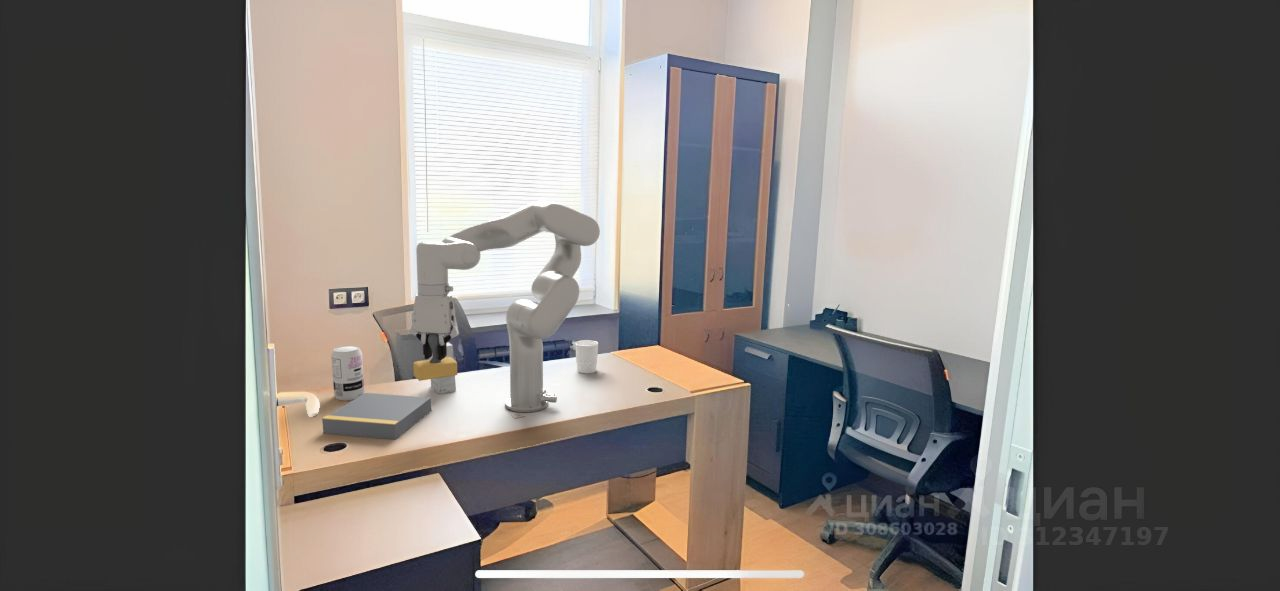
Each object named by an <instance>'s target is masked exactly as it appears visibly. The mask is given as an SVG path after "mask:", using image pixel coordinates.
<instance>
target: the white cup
mask: <svg viewBox="0 0 1280 591" xmlns="http://www.w3.org/2000/svg"><path fill="white" fill-rule="evenodd" d="M598 353H599V342H598V341H596V340H590V339H584V340H578V341H576V342H575V363H576V371H577V372H578V373H581V374H594V373H595V372H597V364H598Z"/></svg>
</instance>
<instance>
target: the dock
mask: <svg viewBox="0 0 1280 591" xmlns="http://www.w3.org/2000/svg"><path fill="white" fill-rule="evenodd" d="M430 411H431V412H432V411H433V410H432V398H431V397H426V396H425V397H424V396H412V395H398V394H389V393H388V394H387V393H386V394H385V393H372V392H364V394H363V395H361V396H359V397H358V398H356V399H354V400H350V401H349V402H347V403H346V404H345V405H343V406H342V407H339V408H337V409H336V410H334V411H333V412H331V413H330V414H328V415H325V416H323V417H322V419H321V421H322V431H323V432H322V433H323V434H325V433H327V435H328V434H329V435H338V436H348V437H361V438H362V437H363V438H375V439H386V440H397V439H398V438H400V437H401V436H402V435H404V434H405V433H406V432H408V431H409V430H410V429H411V428H412V427H413V426H415V425H416V424H417V423H418V422H420V421H421V420H422V419H424V418H425V417H426V416H427V415H429V414H430V413H431V412H430ZM429 412H430V413H429ZM425 415H426V416H425ZM424 416H425V417H424ZM420 419H421V420H420ZM419 420H420V421H419ZM415 423H416V424H415ZM414 424H415V425H414Z"/></svg>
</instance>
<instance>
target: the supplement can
mask: <svg viewBox="0 0 1280 591" xmlns="http://www.w3.org/2000/svg"><path fill="white" fill-rule="evenodd" d="M330 356H331V357H330V358H331V366H332V367H331V369H332V381H333V382H332V384H333V395H334V398H336V399H337V400H338V401H342V400H346V402H348V401H347V400H349V401H353V400H354V399H356V398H358V397H359V396H361V395H363V394H364V393H365V385H364V384H365V381H364V380H365V379H364V366H363V364H364V362H363V352H362V350H361V349H360V347H359V346H358V345H342V346H336V347H335V348H333V351H332V352H331V354H330Z"/></svg>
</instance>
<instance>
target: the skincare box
mask: <svg viewBox="0 0 1280 591" xmlns="http://www.w3.org/2000/svg"><path fill="white" fill-rule="evenodd" d="M446 345H447V355H446V356H445V357H451V358H452V359H454V346H453V344H452V343H451V342H448V343H446ZM432 357H433V353H432ZM432 357H430V358H429V359H428V360H430V359H432ZM454 360H455V359H454ZM430 386H431V388H432V389H433V390H434V391H435V392H436V394H439V395H440V394H445V393H451V392H456V391H457V386H456V375H455V376H448V377H442V378H435V379H430Z"/></svg>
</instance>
